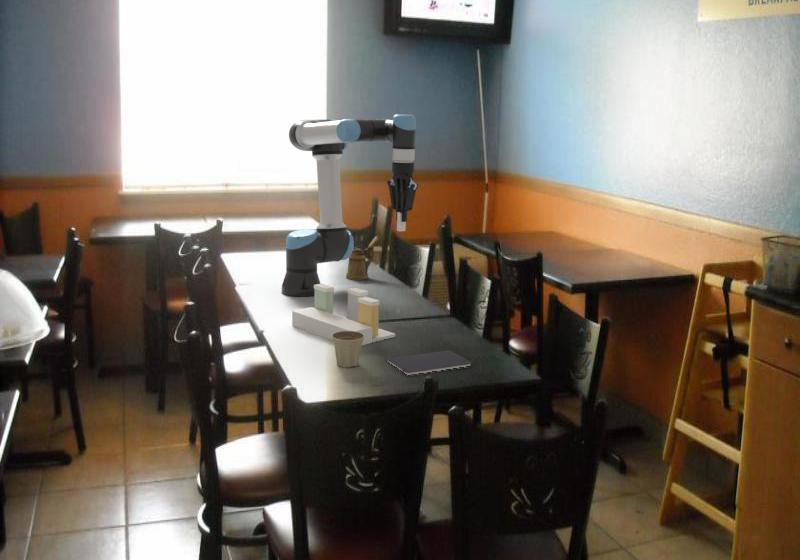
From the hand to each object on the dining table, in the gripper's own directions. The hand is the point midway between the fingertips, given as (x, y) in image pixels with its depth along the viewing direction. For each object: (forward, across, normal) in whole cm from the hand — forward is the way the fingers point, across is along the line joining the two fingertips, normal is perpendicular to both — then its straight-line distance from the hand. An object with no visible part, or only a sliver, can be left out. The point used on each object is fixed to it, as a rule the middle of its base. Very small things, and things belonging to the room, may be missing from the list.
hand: (401, 230), depth 280 cm
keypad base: (+29, -4, +30) cm, 42 cm away
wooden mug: (+30, +49, -27) cm, 63 cm away
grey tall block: (+28, -4, +23) cm, 36 cm away
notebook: (+30, -44, +31) cm, 62 cm away
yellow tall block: (+28, -15, +28) cm, 42 cm away
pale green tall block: (+28, +7, +28) cm, 40 cm away
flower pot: (+30, -30, +49) cm, 64 cm away
